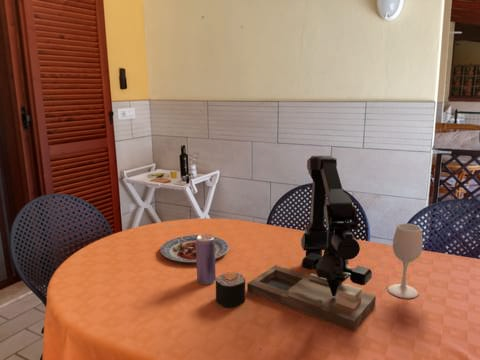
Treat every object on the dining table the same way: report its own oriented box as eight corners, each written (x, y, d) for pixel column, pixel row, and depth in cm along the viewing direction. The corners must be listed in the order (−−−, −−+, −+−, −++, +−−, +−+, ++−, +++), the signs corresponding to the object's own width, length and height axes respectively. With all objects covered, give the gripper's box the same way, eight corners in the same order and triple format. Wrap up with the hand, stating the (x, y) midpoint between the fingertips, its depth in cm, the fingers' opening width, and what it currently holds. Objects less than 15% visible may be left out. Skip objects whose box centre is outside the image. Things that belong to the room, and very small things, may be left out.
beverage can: (212, 286, 131) (212, 241, 128) (194, 284, 132) (193, 240, 129) (217, 277, 137) (216, 234, 133) (200, 275, 138) (199, 233, 134)
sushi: (211, 299, 123) (210, 274, 121) (233, 291, 128) (233, 267, 126) (227, 311, 117) (226, 285, 115) (250, 301, 122) (250, 276, 120)
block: (344, 296, 119) (345, 283, 118) (361, 301, 116) (362, 288, 115) (336, 303, 115) (337, 290, 114) (354, 309, 112) (355, 295, 111)
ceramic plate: (242, 248, 161) (242, 241, 161) (201, 273, 140) (201, 265, 139) (190, 235, 175) (189, 228, 174) (146, 257, 153) (145, 249, 153)
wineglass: (417, 287, 130) (424, 224, 125) (419, 301, 122) (426, 233, 117) (387, 283, 133) (393, 220, 128) (387, 296, 125) (393, 230, 120)
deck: (275, 273, 140) (275, 260, 139) (375, 305, 120) (376, 291, 119) (247, 292, 127) (247, 278, 126) (353, 331, 107) (354, 315, 106)
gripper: (293, 245, 114) (291, 296, 117) (358, 263, 103) (354, 319, 106) (312, 233, 122) (309, 282, 126) (374, 249, 111) (370, 301, 115)
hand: (334, 295), depth 118 cm, fingers closed
